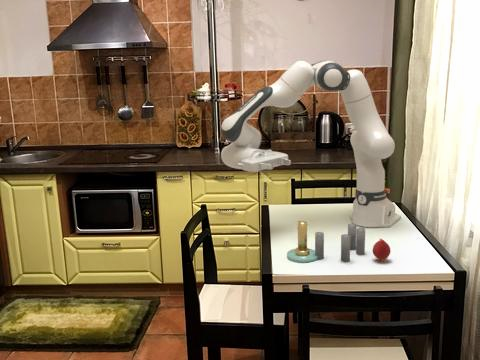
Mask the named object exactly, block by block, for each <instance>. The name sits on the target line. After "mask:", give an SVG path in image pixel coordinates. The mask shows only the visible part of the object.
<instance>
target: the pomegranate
mask: <svg viewBox="0 0 480 360" xmlns="http://www.w3.org/2000/svg"><path fill="white" fill-rule="evenodd" d="M372 254H373V256H374V257H375V258H376V259H378V261H379V262H382V261H384V260H386V259H388V258H389V256H390V255H391V247H390V245H389V244H388V242H386V241H385V240H384V239H383V238H381V237H380V238H379V240H378V241H376V242H375V244H373V247H372Z"/></svg>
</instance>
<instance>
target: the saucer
mask: <svg viewBox="0 0 480 360" xmlns="http://www.w3.org/2000/svg"><path fill="white" fill-rule="evenodd" d="M295 249H296V248H292V249H290V250H288V251H287V252H286V258H287V259H288V260H289V261H291V262H295V263H299V264H307V263H313V262H315V261H317V260H318V259H317V256H316V255H315V249H312V248H309V249H310V255H308V256H297V255H296V254H295Z"/></svg>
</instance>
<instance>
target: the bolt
mask: <svg viewBox="0 0 480 360" xmlns="http://www.w3.org/2000/svg"><path fill="white" fill-rule="evenodd" d="M294 249H295V254H296V255H297V256H308V255H310V249H311V248H309V247H308V221H305V220H299V221H297V247H296V248H294Z"/></svg>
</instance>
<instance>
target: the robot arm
mask: <svg viewBox="0 0 480 360" xmlns="http://www.w3.org/2000/svg"><path fill="white" fill-rule="evenodd" d="M314 86H317V87H318V88H319V89H321V90H324V91H327V92H338V91H339V93H340V94H341V98H342V101H343V104H344V107H345V111H346V114H347V116H348V119H349V122H350V123H351V124H352V126H353V128H354V129H355V130H354V131H353V132H352V133H351V135H350V145H351V147H352V150H353V155H354V156H353V157H354V162H355V166H356V188H355V193H354V195H355V197H354V198H355V199H354V200H353V203H352V204H353V205H352V210H351V211H352V213H351V215H349V219H350V220H351V222H352V223H351V224H356V226H358V227H362V228H389V227H392V226H393V225H394V224H395V223H397V222H398V221H399V220H401V219H402V216H401V215H400V214H398V213H396V205H395V204H394V203H393V202H392V201H391V200H390V199H389V198H388V196H387V194H390V191H391V190H390V188H385V183H386V181H385V179H386V176H385V175H386V170H385V168H384V165H383V162H382V160H384V159H387V158H388V159H389V158H390V156H392V155H393V153H394V151H395V147H396V145H395V141H394V139H393V138H392V135H390V134H389V131H388V130H387V128H386V126H385V125H384V122H383V120H382V119H381V117H380V115H379V112H378V110H377V107H376V104H375V101H374V97H373V94H372V91H371V88H370V86H369V83H368V80H367V79H366V76H365V75H364V73H363V72H362V71H361V70H359V69H349V70H346V69H345V67H343V66H342V65H341V64H339V63H337V62H336V61H334V60H333V61H332V60H320V61H318V62H316V63H313V64H310V63H309V62H307V61H304V60H297V61H296V62H294V63H293V64H292V65H291V66H290V67H288V69H286V71H285V72H283V73H282V75H281V76H280V77H279V78H278V79H277V80H276V81H275V82H273V83H272V84H270V85H268V86H263V87H262V88H260V89H259V90H257V92H255V93H253V95H252V96H250V97H249V99H247V100H246V101H245V102H244V103H243V104H242V105H241V106H240V107H239V108H237V109H236V110H235V111H234V112H232V113H231V114H229V115H228V116H226V118H224V119H223V121H222V122H221V124H220V134H221V137H222V139H224V140H226V141H228V142H230V144H228V145H227V146H224V147H223V148H222V149H221V153H220V158H221V160H222V163H224V165H226V166H227V167H229V168H232V169H237V170H242V171H246V172H248V173H259V172H260V171H263V170H270V171H271V170H273V169H274V168H275V167H277V168H278V167H279V166H290V165H291V164H292V163H291V162H292V161H291V160H290V159H289V155H288V154H286V153H284V152H279V151H273V150H272V149H270V148H267V149H266V148H265V149H260V147H261V144H262V138H263V136H262V133H261V132H260V131H259V129H257V128H255V127H254V126H252V124H249V122H248V121H249V120H250V119H251V118H252V117H253V116H255V114H256V113H257V112H259V111H260V110H261V109H263V108H265V107H277V108H281V109H283V108H290V107H292V106H293V105H295V104H297V102H298V101H299V100H300V99H301V97H303V95H304V94H305V93H306V92H307V91H308V89H310V88H311V87H314Z"/></svg>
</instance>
